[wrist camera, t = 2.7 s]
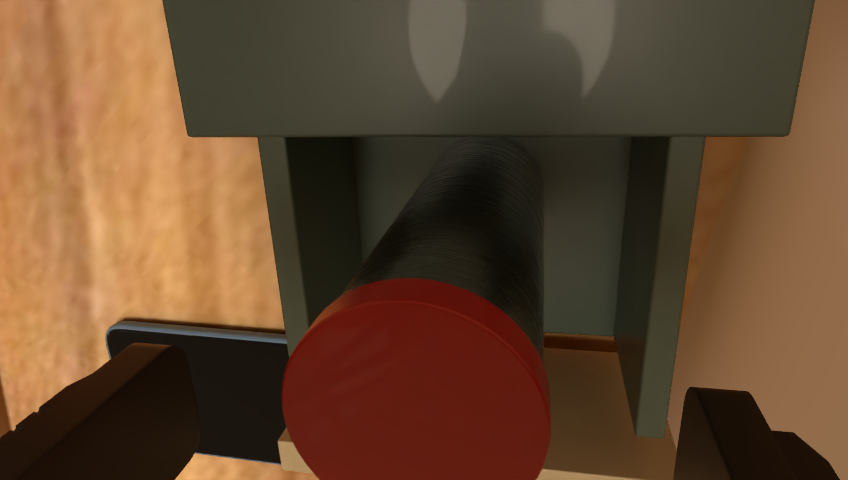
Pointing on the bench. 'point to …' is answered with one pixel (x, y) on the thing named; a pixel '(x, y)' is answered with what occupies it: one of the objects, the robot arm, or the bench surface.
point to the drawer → (563, 271)
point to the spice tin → (436, 336)
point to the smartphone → (225, 383)
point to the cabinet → (488, 67)
